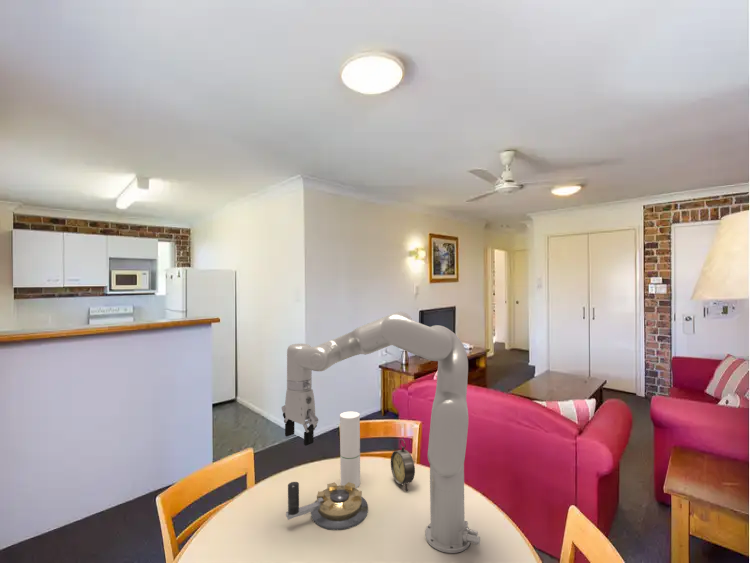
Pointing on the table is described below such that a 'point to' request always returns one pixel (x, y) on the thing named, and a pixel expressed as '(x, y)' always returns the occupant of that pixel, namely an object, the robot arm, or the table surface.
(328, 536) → the table surface
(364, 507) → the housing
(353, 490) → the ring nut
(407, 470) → the alarm clock
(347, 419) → the cylindrical container
